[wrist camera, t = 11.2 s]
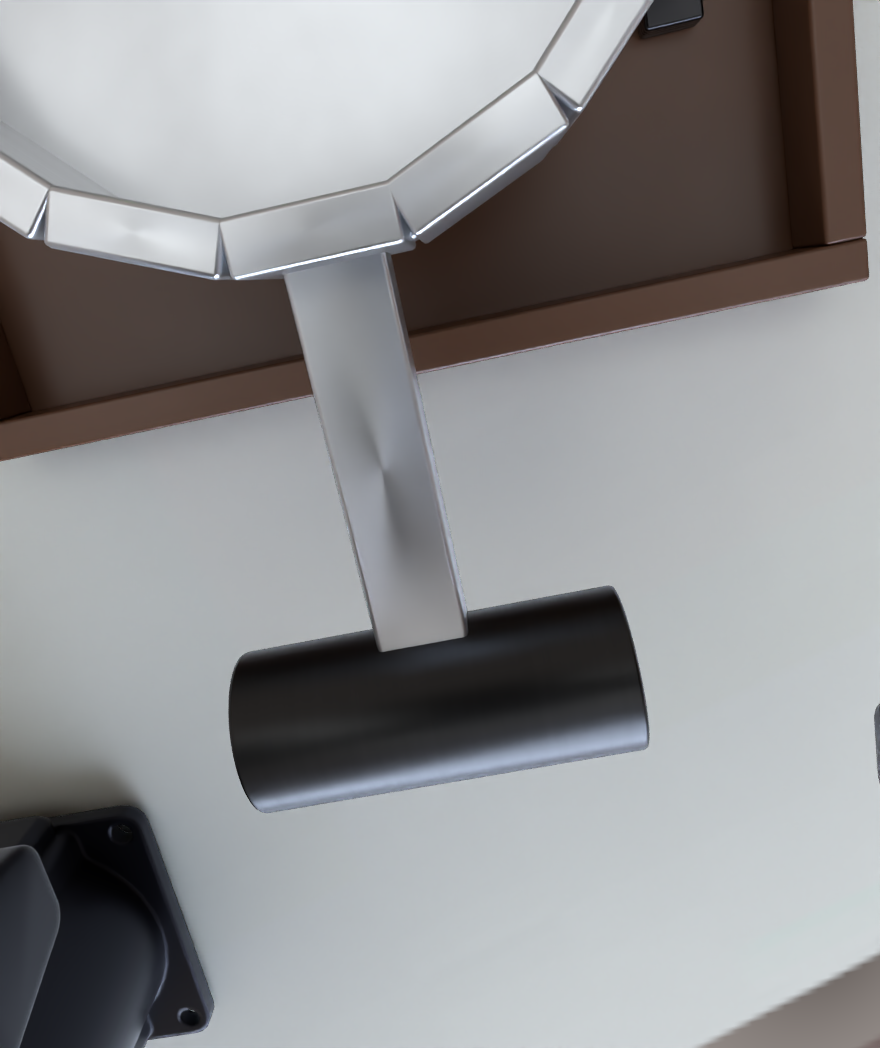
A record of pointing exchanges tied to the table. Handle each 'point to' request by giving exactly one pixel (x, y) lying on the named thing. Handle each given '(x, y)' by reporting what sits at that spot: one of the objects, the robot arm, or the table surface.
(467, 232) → the tray
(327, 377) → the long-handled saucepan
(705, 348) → the table surface
